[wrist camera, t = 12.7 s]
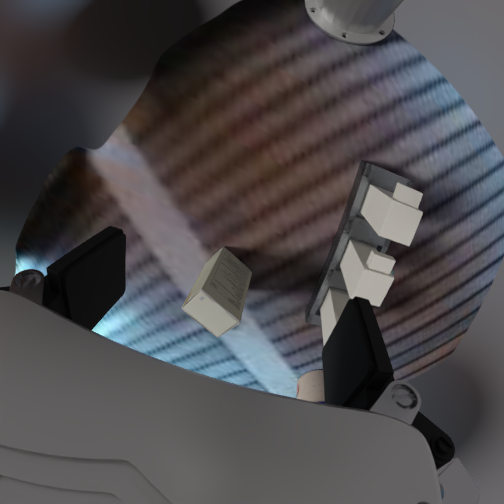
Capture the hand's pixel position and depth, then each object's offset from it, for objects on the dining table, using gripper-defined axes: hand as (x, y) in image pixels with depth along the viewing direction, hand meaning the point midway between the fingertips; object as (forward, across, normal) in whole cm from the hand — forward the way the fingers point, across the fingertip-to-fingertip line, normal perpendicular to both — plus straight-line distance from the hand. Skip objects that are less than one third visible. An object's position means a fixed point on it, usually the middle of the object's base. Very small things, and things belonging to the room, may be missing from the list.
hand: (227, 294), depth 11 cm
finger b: (+26, -14, +6) cm, 30 cm away
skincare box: (+28, +3, +15) cm, 32 cm away
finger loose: (+26, -14, +14) cm, 33 cm away
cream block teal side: (+26, -14, -2) cm, 30 cm away
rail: (+28, -14, +6) cm, 32 cm away
